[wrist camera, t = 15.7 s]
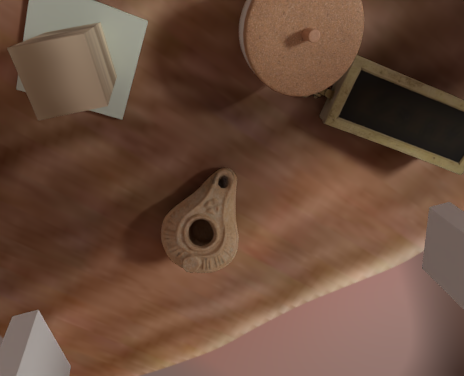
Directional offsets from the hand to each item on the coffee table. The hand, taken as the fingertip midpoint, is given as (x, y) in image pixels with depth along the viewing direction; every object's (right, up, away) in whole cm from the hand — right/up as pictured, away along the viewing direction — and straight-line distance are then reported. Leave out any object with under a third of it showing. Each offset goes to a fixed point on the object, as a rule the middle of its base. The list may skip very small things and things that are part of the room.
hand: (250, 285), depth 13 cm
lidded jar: (+4, +20, +26) cm, 33 cm away
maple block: (-15, +16, +23) cm, 32 cm away
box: (+17, +13, +33) cm, 40 cm away
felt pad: (-15, +16, +23) cm, 32 cm away
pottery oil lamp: (-4, +1, +34) cm, 34 cm away
